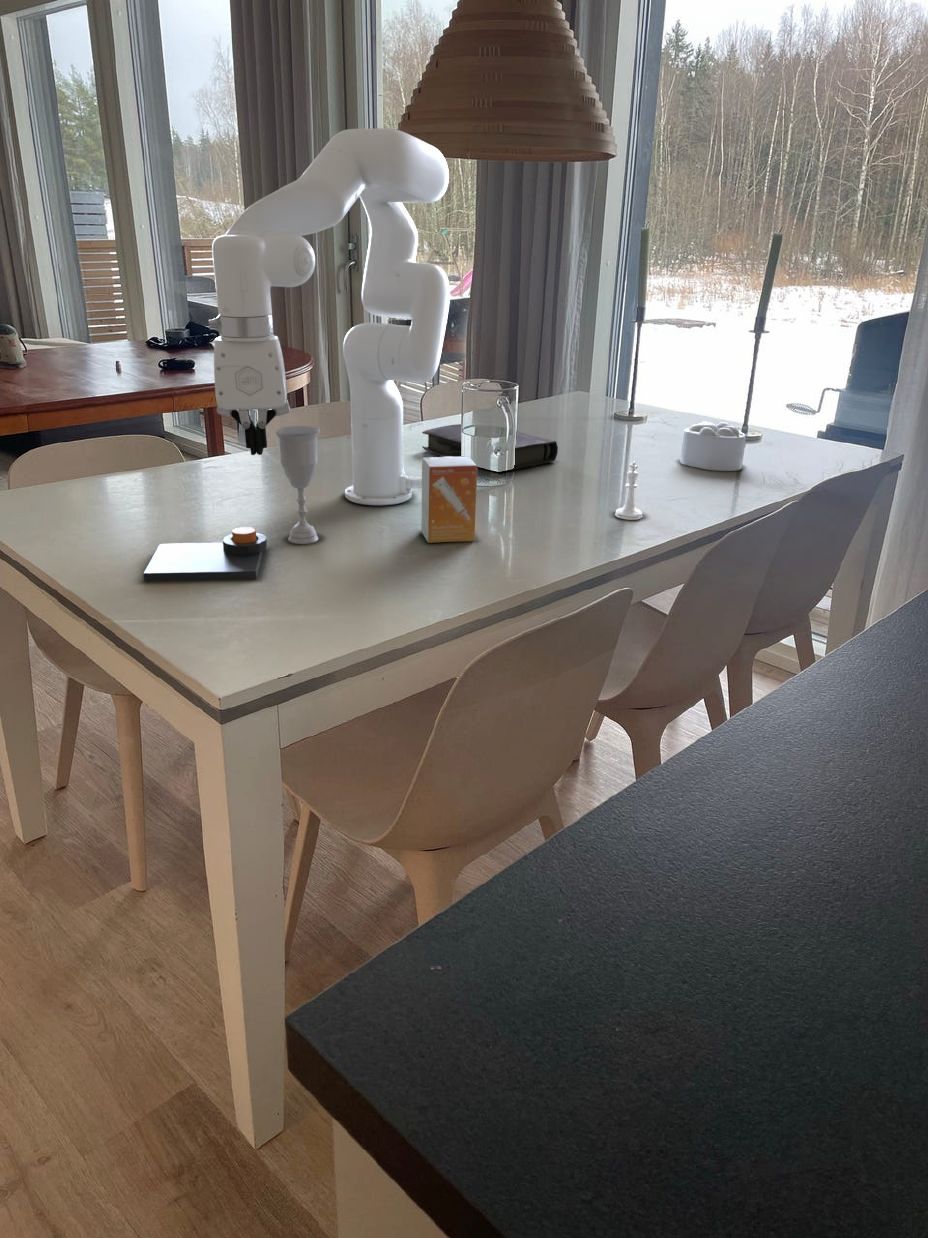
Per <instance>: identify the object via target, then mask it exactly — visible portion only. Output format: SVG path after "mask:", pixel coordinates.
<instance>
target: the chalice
mask: <svg viewBox="0 0 928 1238" xmlns="http://www.w3.org/2000/svg"><path fill="white" fill-rule="evenodd" d="M275 433H276V435H277V437H278V440H279V457H280V465H281V467H282V469H283V471H284V474H285V477H286V478H287V479H288V481H289V483H290V485H291V487H292V488H295V489H297V493H298V494H297V498H296V501H297V503H298V508H297V510H296V513H297V514H298V516H299V518H298V519H299V521H298V522H297V523H296V524H294V525H293V526H292V528H291V531H290V533H289V537H288V539H287V540H288V541H289V543H292V544H298V545H299V544H300V545H304V544H312V543H315V542H317V541H318V540H319V536H318V535H317V531H316V530H315V527H314V526H313V525H312V524H310V523H308V522H307V520H306V513H307V512H308V509H307V508H306V507H305V504H306V501H307V498H306V496H305V489H307V488H308V487H309V486H310V484H311V482H312V480H313V478H314V475H315V473H316V470H317V469H316V468H317V465H318V463H319V462H318V461H319V456H318V454H319V453H318V436H319V433H320V429H319V428H318V427H315V426H310V425H290V426H289V425H288V426H284V427H280V428H277V429H276V430H275Z"/></svg>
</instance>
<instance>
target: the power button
mask: <svg viewBox="0 0 928 1238" xmlns="http://www.w3.org/2000/svg"><path fill="white" fill-rule="evenodd" d="M256 533H257V529H256V528H254V527H252V526H240V527H239V526H238V527H236V528H233V529H232V531H231V534H232V536H233V542H235V543H250V542H255V541H257V538H256Z"/></svg>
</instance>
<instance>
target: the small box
mask: <svg viewBox="0 0 928 1238" xmlns="http://www.w3.org/2000/svg"><path fill="white" fill-rule="evenodd" d="M421 478H422V488H421V508H420V509H421V510H420V511H421V533H422V535H423V536H424V538H425V540H426V541H427V543H428V544H434V543H455V542H456V543H457V542H475V540H476V518H477V517H476V514H477V490H478V489H477V486H478V485H477V483H478V481H477V480H478V468H477V465H476V464H475V463H474V461H473V460H472V459H471V458H470V457H469V456H461V457H444V456H439V457H437V456H435V457H433V456H432V457H422V458H421Z"/></svg>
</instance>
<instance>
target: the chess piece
mask: <svg viewBox="0 0 928 1238" xmlns="http://www.w3.org/2000/svg"><path fill="white" fill-rule="evenodd" d="M636 463H637V462H636V461H632V462H631V463H630V464H629V467H630V468H631V470H629V471H627V473H626V476H627V480H628V483H625V487H626V488H627V489H628V491H627V495H626V500H625V504H624V505H623V506H622V507H620V508H617V509H616V510H615V513H614V515H615V517H616V518H619V519H622V520H627V521H636V520H641V519H642V518H643V512H642V511H641V510H640V509H638V508H637V507H636V506H635V489H637V488H638V486H639V485H638V484H637V483H636V481H637V478H638V476H639V472H638V471H636V470H637V469H638V468H639V467H638V465H636Z"/></svg>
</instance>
